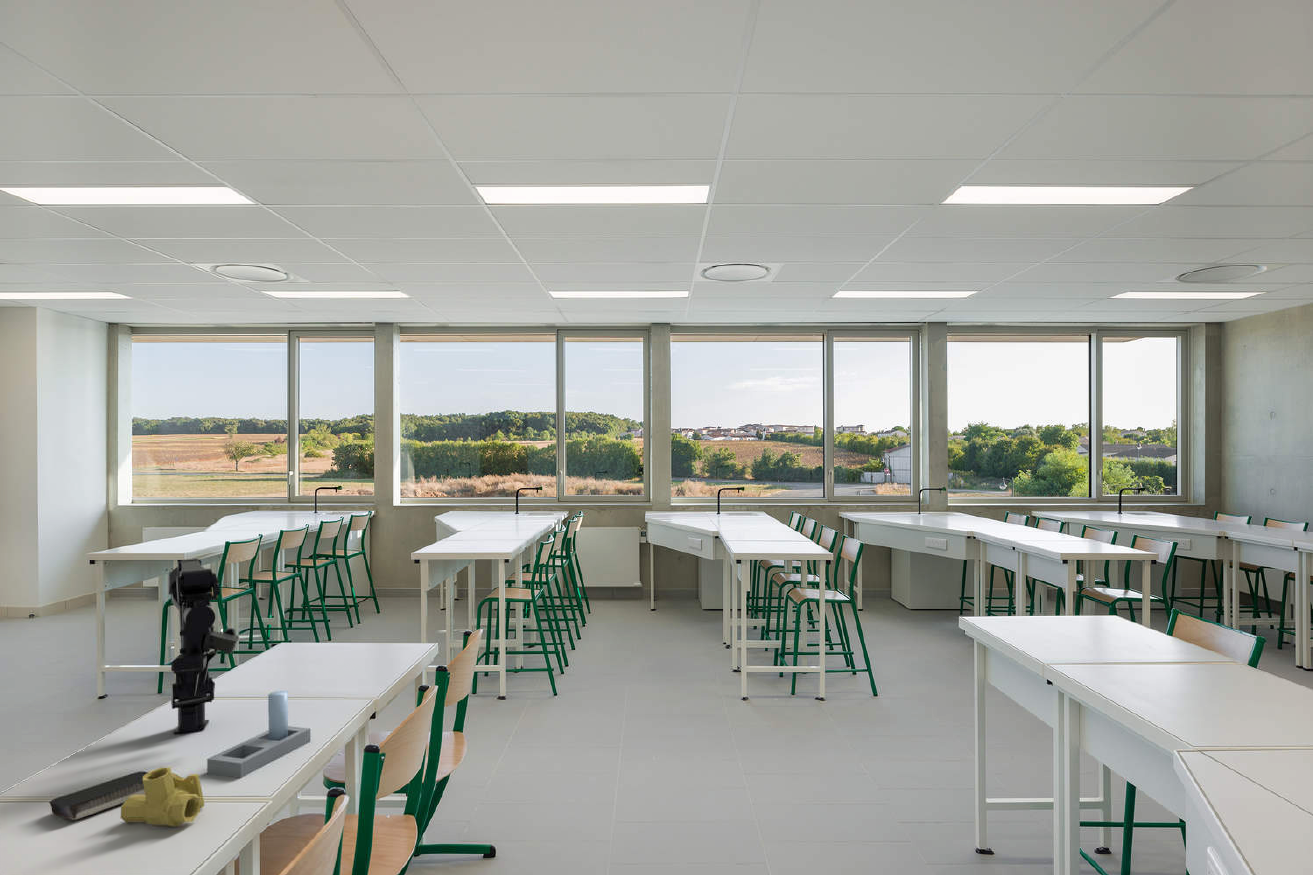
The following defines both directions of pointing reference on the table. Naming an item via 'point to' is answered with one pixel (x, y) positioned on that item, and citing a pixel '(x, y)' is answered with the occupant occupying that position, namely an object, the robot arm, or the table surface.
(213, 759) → the panel
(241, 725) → the table surface
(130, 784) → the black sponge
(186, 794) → the ball valve
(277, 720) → the plug
